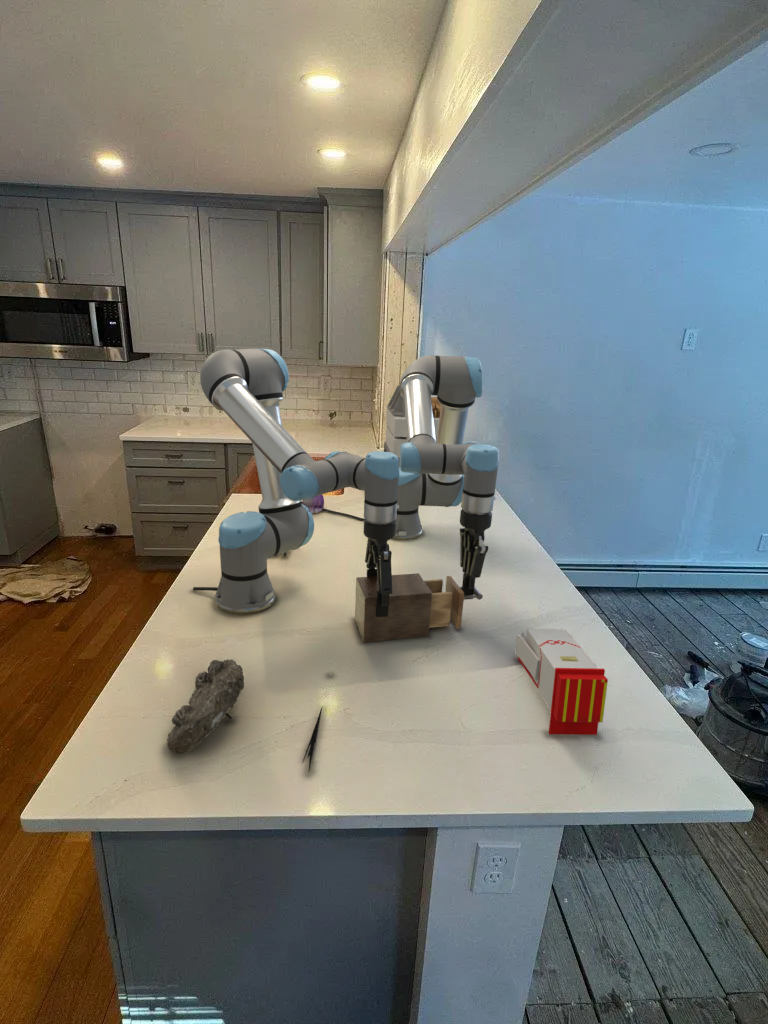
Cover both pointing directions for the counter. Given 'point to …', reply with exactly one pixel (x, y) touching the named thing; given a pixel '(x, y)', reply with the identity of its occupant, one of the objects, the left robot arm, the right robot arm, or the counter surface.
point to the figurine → (314, 504)
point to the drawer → (447, 602)
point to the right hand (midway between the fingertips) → (466, 597)
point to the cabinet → (393, 608)
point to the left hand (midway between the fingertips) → (376, 604)
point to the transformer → (402, 422)
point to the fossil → (206, 705)
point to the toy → (564, 680)
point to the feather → (313, 740)
